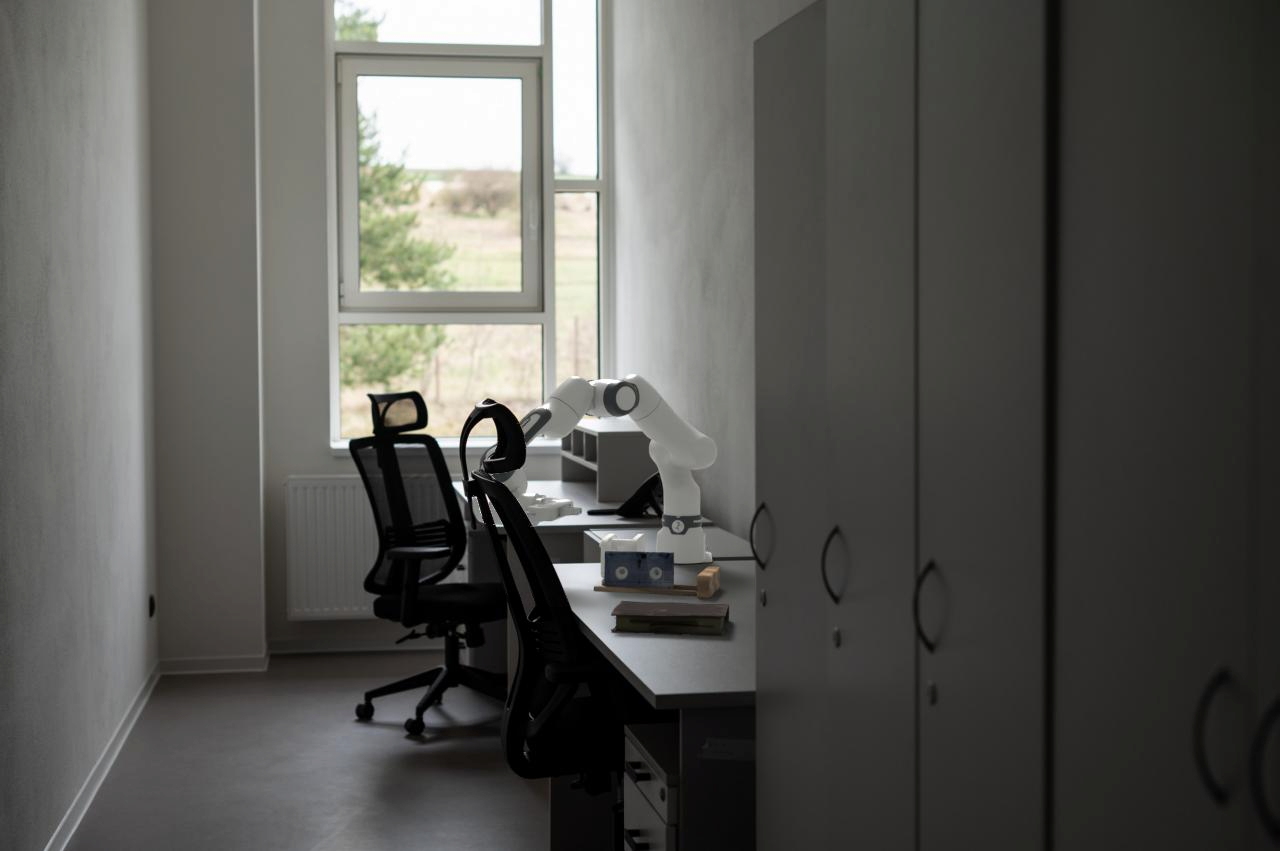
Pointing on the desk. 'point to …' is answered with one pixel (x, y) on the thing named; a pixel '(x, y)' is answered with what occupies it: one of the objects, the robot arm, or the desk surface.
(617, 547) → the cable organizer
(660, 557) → the vhs cassette tape
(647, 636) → the desk surface
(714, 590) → the guide track
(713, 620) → the diary
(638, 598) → the desk surface
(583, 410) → the robot arm
